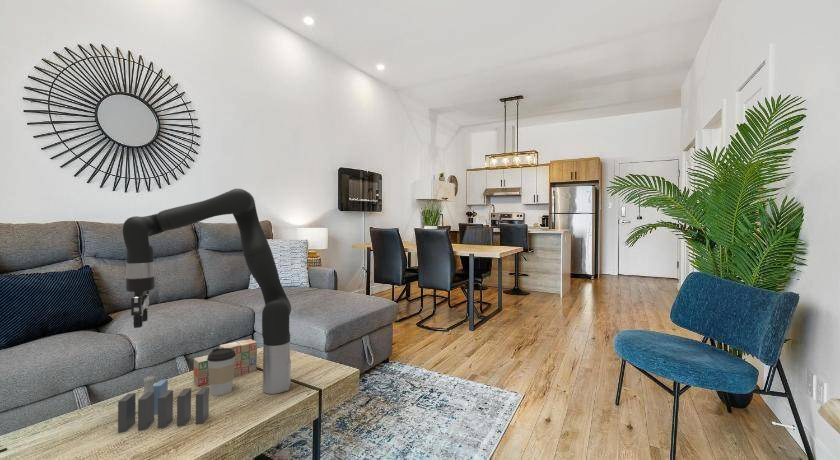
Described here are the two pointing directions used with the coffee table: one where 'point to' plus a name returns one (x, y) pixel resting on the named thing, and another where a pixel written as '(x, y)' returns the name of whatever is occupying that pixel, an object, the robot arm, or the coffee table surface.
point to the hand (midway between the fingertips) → (140, 324)
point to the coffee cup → (221, 370)
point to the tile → (159, 392)
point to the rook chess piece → (148, 384)
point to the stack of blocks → (243, 361)
